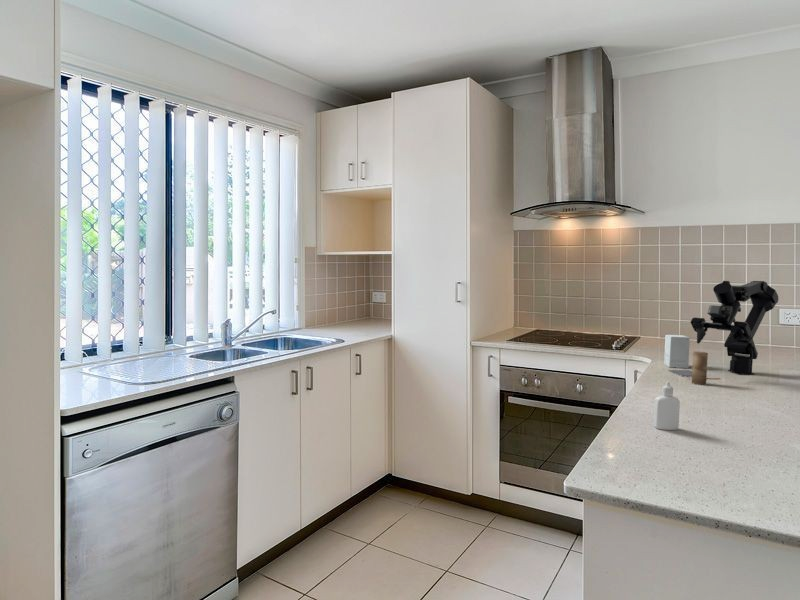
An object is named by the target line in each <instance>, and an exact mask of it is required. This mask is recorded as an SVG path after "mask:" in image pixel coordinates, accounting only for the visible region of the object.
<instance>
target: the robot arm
mask: <svg viewBox="0 0 800 600" xmlns="http://www.w3.org/2000/svg"><path fill="white" fill-rule="evenodd" d="M713 292H714V295H715V297H716V300H717V302H718V303H719V304H720V305H709V307H708V311H707V315H709V316H710V317H709V319H710V321H706V319H705V317H704V318H703V317H693V318H692V319H691V320H690V322H689V323H690V324H691V327H692V329H693V331H694V332H696V343H697V344H700V343H701V342H702V341H703V339H704V338H705V336H706V335H707V332H708V330H709V329H716V330H718V331H726V332H727V331H728V332H730V333H729V334H728V336H727V338H726V340H725V342H724V344H723V346H724V348H726V351H727V352H726V353H727V357H731V358H730V361H729V369H727V371H728V372H730V373H734V374H736V375H755V372H753V360H758V359H757V358H758V354H759V353H758V351H757V348H756V344H755V341H754V337H755V335H756V333H757V331H758V329H759V327H760V325H761V323H762V321H763V319H764V317H765V314H766V313H767V312H770V311H771V310H773V309H774V308H775V306H776V305H777V304H778V302H779V295H778V293H777V291H776V289H774V288H773V287H772V286H769V284H768V282H767V281H764V280H752V281H750V282H748V283H746V284H742V285H732V284H731V282H730V280H723V281H722V282H720V283H717V284H716V285H715V286H714V287H713ZM749 299H750V301H751V304H752V307H751V309H750V311H749V313H748V315H747V317H746V319H745V321H740V320H739V321H738V320H737V321H736V316H737V314H738V312H739V313H741V311H742V308H741V303H740V302H742V303H743V302H747V301H748V300H749ZM711 321H712V322H711Z"/></svg>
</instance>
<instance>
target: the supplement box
mask: <svg viewBox="0 0 800 600" xmlns="http://www.w3.org/2000/svg"><path fill="white" fill-rule="evenodd" d="M664 340H665V341H664V356H663V357H664V358H663V364H664V365H665V366H667V367H668V368H674V367H676V368H677V369H689V364H690V363H689V359H690V343H691V342H690V341H691V340H690V337H689V336H686V335H683V334H665V338H664ZM676 368H675V369H676Z"/></svg>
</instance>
